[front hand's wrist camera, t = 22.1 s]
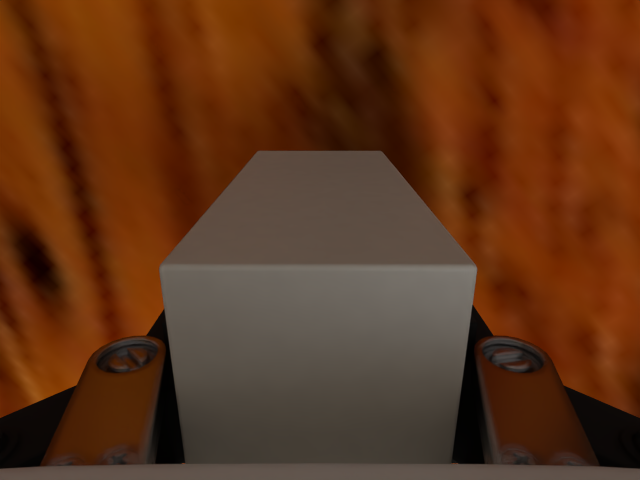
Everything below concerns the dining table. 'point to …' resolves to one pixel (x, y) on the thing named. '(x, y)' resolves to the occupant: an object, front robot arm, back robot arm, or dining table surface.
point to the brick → (318, 317)
